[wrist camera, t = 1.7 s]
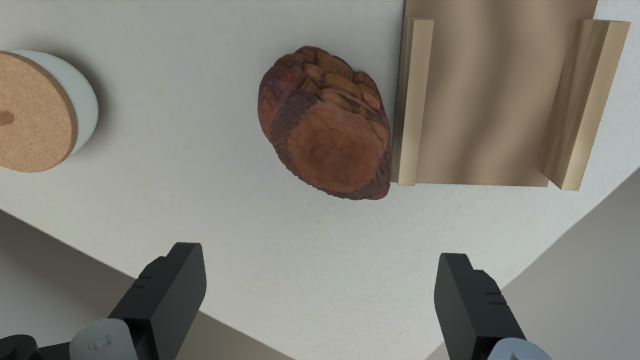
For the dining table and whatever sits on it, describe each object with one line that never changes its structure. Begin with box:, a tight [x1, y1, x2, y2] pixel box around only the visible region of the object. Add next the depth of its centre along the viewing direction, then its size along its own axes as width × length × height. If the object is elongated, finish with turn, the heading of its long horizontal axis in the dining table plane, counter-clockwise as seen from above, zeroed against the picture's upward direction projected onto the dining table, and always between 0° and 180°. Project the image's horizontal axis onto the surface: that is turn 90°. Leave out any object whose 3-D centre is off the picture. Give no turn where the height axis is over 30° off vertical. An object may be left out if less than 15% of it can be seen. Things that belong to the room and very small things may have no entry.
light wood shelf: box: [390, 0, 631, 191], centre depth 36 cm, size 16×18×6 cm
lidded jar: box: [0, 50, 98, 172], centre depth 37 cm, size 11×11×9 cm
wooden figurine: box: [258, 46, 391, 200], centre depth 31 cm, size 12×6×18 cm, turn 59°
